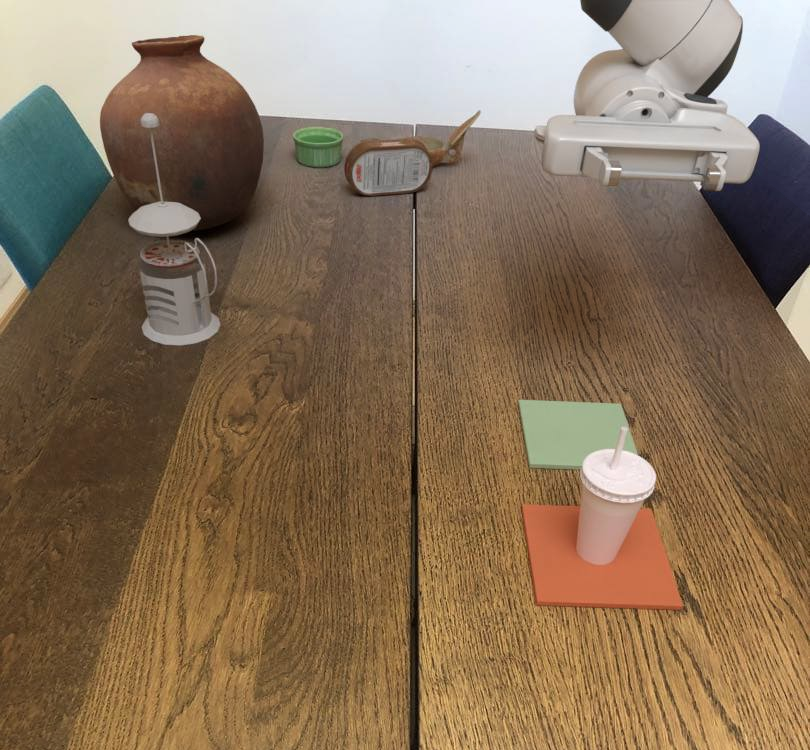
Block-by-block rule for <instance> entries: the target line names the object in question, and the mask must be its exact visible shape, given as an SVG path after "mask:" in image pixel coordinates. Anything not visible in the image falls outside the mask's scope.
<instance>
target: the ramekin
mask: <svg viewBox="0 0 810 750" xmlns="http://www.w3.org/2000/svg"><path fill="white" fill-rule="evenodd" d="M292 139H293V141H294V148H295V156H296V160H297V161H298V163H300V165H303V166H306V167H309V168H318V169H319V168H331V167H334V166H336V165H338V164H339V163H340V162H341V159H342V146H343V141H344V134H343V133H342V132H341V131H339V130H338V129H335V128H331V127H325V126H307V127H302V128H298V129H297V130H295V131H294V132H293V133H292Z"/></svg>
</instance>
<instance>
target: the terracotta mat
mask: <svg viewBox="0 0 810 750" xmlns="http://www.w3.org/2000/svg"><path fill="white" fill-rule="evenodd" d="M520 510H521V514H522V522H523V528H524V535H525V540H526V541H525V542H526V547H527V554H528V560H529V566H530V567H529V568H530V573H531V580H532V585H533V593H534V599H535V605H536V606H547V607H548V606H549V607H573V608H574V607H575V608H576V607H577V608H603V609H605V608H606V609H608V608H609V609H633V610H634V609H636V610H637V609H639V610H663V611H664V610H665V611H667V610H669V611H682V609H683V608H684V604H683V601H682V599H681V596H680V592H679V589H678V586H677V583H676V580H675V577H674V575H673V570H672V567H671V565H670V561H669V559H668V556H667V552H666V549H665V547H664V543H663V541H662V537H661V533H660V530H659V528H658V526H657V522H656V519H655V515H654V512H653V510H652V508H640V510H639V512H638V513H637V515H636V517H635V519H634V521H633V523H632V525H631V527H630V529H629V531H628V533H627V535H626V537H625V539H624V541H623V543H622V545H621V547H620V549H619V551H618V553H617V555H616V557H615V559H614V560H613V561H612V562H610V563H608V564H605V565H596V564H591V563H589V562H587V561H585V560H583V559H582V558H581V557H580V556H579V555H578V553H577V550H576V546H577V535H578V525H579V514H580V505H559V504H558V505H557V504H555V505H553V504H533V503H532V504H531V503H529V504H528V503H522V504H521V509H520Z"/></svg>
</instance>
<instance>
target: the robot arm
mask: <svg viewBox="0 0 810 750" xmlns="http://www.w3.org/2000/svg"><path fill="white" fill-rule="evenodd" d="M579 2H580V8H581V11H582V12H583V13H584V14H586V15H587V16H588V17H589V18H590V19H591V20H592V21H593V22H594V23H595V24H596V25H598V26H599V27H600V29H602V30H603V31H604V32H607V33H608V34H609V35H610V36H611V37H612V38H613V39H614V40H615V42H616V43H617V44H618V45H619V46H620V49H611V50H610V49H609V50H604V51H602V52H600V53H597V54H596V55H594V56H593V57H591V58H590V59H589V60H588V61H587V62H586V63H585V65H584V66H583V67H582V69H581V70H580V73H579V75H578V77H577V80H576V83H575V87H574V90H573V91H574V92H573V109H574V114H557V115H553V116H551V117H550V118H548V120H547V122H546V125H537V126H535V129H534V130H533V134H534V138H535V140H536V141H537V143H540V144H542V154H541V168H542V170H543V171H544V172H545V173H547V174H549V175H552V176H557V177H579V178H582V177H583V178H591V179H594V180H596V181H598V182H599V183H600V185H601V187H618V186H619V184H620V180H623V181H634V180H649V181H671V182H673V181H674V182H675V181H676V182H692V183H693V182H694V183H695V182H696V183H700V184H699V185H700V187H701V188H702V189H703V191H712V192H713V191H714V192H721V191H722V189H723V187H724V184H735V185H736V184H737V185H739V184H745V183H746V182H747V181H748V180H749V179H751V176H752V175H753V172H754V170H755V166H756V164H757V160H758V156H759V153H760V147H761V145H760V141H759V140H758V138H757V137H756V135H755V134H754V133H753V132H752V130H750V128H749V127H747V125H746V124H744V123H743V122H742V121H741V120H740V119H739V118H736V117H735V116H733V115H731V114H729V113H728V104H727V103H726V101H723V100H722V99H718V98H713V97H710V96H711V95H712V93H714V91H715V90H717V88H719V86H720V85H721V84H722V83H723V81H724V80H725V79H726V77H727V76H728V75H729V73H730V72H731V70H732V68H733V65H734V63H735V61H736V58H737V55H738V51H739V49H740V45H741V42H742V36H743V31H744V29H743V28H744V20H743V17H742V15H740V14H739V12H738V11H737V9H736V8H735V6H734V5H733V3H731V1H730V0H579Z"/></svg>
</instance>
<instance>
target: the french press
mask: <svg viewBox="0 0 810 750" xmlns="http://www.w3.org/2000/svg"><path fill="white" fill-rule="evenodd" d="M141 126H143V127H147V128H150V134H151V141H152V147H153V154H154V160H155V166H156V173H157V179H158V186H159V192H160V198H161V201H160V202H156V203H152V204H149V205H145V206H142V207H140V208H139V209H138V210H137V211H135V210H134V212H132V214H131V215H130V216H129V218H128V224H129V226H130V227H131V229H132V230H134V231H135V232H137V233H138V234H141V235H144V236H149V237H159V238H160V237H161V238H164V237H165V238H166V239H163V240H155V241H154V242H151V243H149V244H146V245H144V246H143V247H142V248H141V249H140V251H139V253H138V256H139V258H140V260H141V261H140V262H139V264H137V265H138V271H139V276H140V281H141V283H140V284H141V285H142V294H143V296H144V304H145V309H146V313H147V317H146V318H145V319H144V322H143V323H142V326H141V329H142V334H143V336H145V337H146V338H147V339H148V340H150V341H151V342H155V343H158V344H161V345H166V346H186V345H194V344H198V343H200V342H203V341H206V340H209V339H210V338H212V337H213V336H214V335H215V334H216V333H218V332H219V330H220V328H221V321H220V319H219V317H218V316H217V315H216V314H214V313H212V309H211V302H210V297H211V296H213V295H214V294H215V293H216V290H217V286H218V275H217V267H216V262H215V260H214V258H213V255H212V254H211V252H210V250H209V249H208V247H207V245H206V244H205V243H204V242H203V241H202V240H201V239H200V238H199V237H195V238H194V243H193V242H191V241H188V240H183V239H182V240H181V239H173V238H171V239H170V237H176V236H180V235H183V234H187V233H189V232H192V231H191V230H192V229H194V228H196V226H197V224H198V222H199V220H200V219H201V218H200V215H199V213H198V212H196V211H194V210H193V209H191V208H189V207H187V206H185V205H183V204H181V203H176V202H163V198H162V191H161V185H160V178H159V172H158V166H157V159H156V153H155V146H154V140H153V133H152V128H153V127H157V126H159V120H158V118H157V116H156V115H155V114H153V113H145V114H144V115H143V116H142V118H141ZM198 243H199V244H201V245H202V247H203V248H204V250H205V251H206V254H208V256H209V259H210V261H211V264H212V267H213V271H214V287H213V289H212V291H211V292H210V293H209V287H208V278H207V271H206V263H205V259H203V258H202V257H201V256H200V255H201V253H202V251H201V249H200V247H199V246H198ZM194 264H197V265H200V267H201V268H199V267H196V268H193V269H189V270H186V271H179V272H172V271H169V269H178V268H184V267H188V266H191V265H194ZM193 275H196V278H193ZM196 284H197V286H198V287H195V286H194V285H196ZM198 293H199V296H197V297H196V296H195V294H198Z"/></svg>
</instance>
